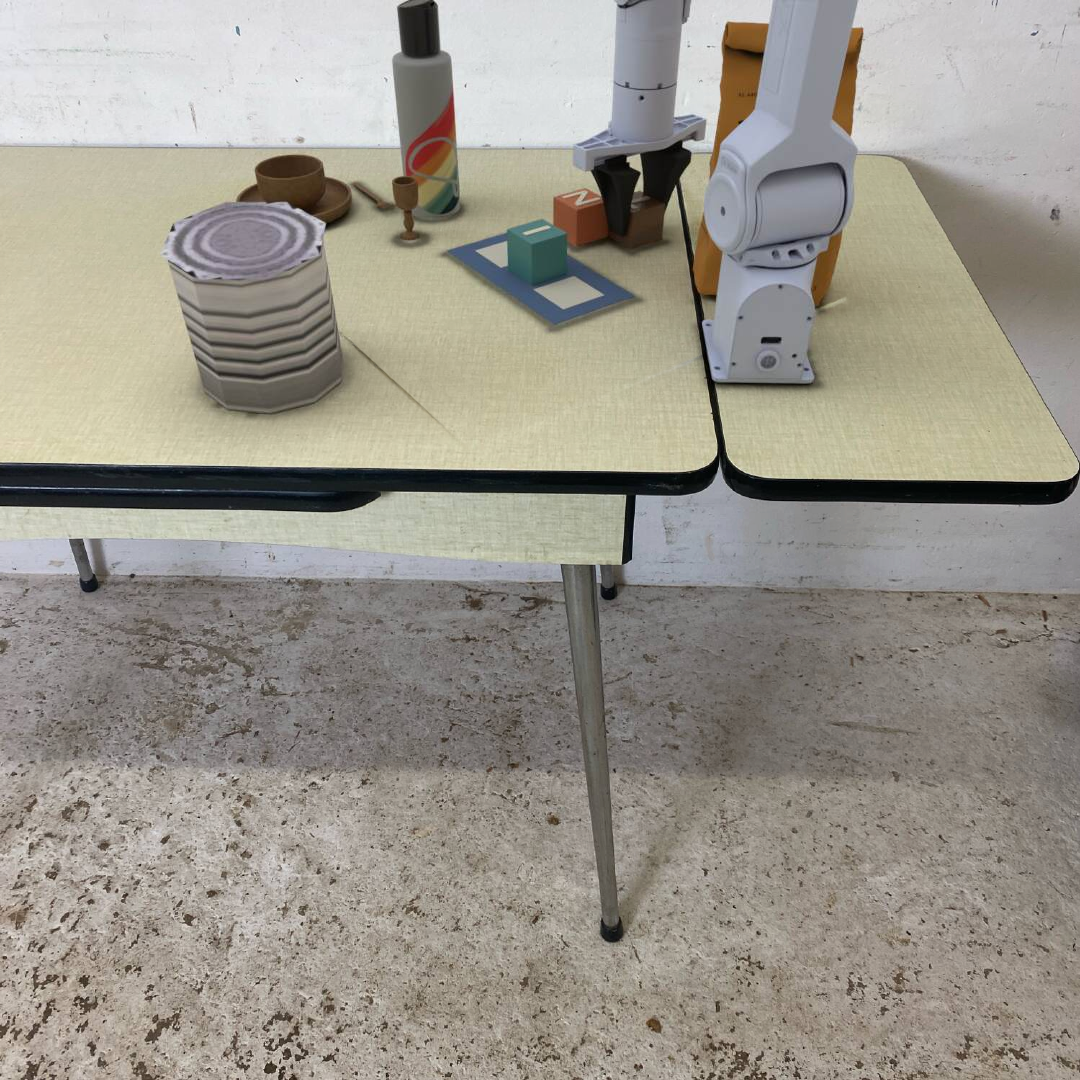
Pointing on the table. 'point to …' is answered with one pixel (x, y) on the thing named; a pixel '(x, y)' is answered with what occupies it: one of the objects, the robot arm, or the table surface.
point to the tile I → (537, 251)
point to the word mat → (548, 298)
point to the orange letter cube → (580, 216)
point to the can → (257, 304)
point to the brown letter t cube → (643, 222)
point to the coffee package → (737, 103)
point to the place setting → (321, 190)
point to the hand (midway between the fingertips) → (635, 227)
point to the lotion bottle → (426, 110)
